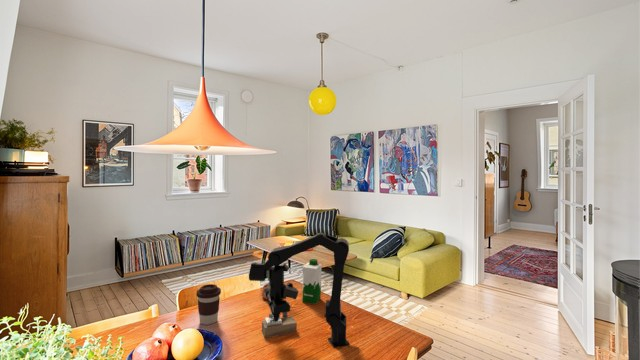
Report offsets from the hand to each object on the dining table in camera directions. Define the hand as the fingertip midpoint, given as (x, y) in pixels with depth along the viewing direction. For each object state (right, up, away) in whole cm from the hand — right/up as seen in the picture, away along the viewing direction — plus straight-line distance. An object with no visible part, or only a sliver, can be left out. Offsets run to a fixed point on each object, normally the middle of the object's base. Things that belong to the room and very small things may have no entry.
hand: (276, 321), depth 126 cm
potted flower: (-7, -6, +41) cm, 42 cm away
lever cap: (-2, -3, +5) cm, 6 cm away
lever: (0, 0, +10) cm, 10 cm away
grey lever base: (-1, -7, +9) cm, 11 cm away
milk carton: (+13, -6, +37) cm, 39 cm away
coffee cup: (-31, -6, +14) cm, 34 cm away
